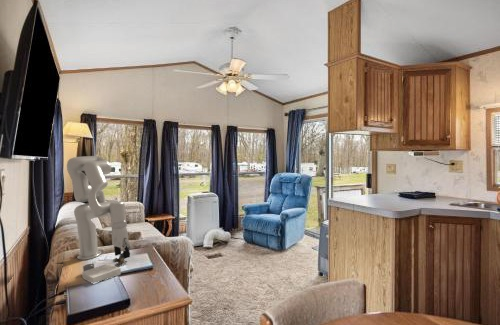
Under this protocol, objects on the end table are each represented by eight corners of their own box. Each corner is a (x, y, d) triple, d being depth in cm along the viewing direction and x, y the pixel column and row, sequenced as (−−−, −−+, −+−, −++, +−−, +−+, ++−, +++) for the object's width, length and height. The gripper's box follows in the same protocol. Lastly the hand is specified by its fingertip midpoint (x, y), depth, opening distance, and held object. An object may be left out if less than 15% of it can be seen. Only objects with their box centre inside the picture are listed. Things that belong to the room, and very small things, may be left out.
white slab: (82, 277, 146) (82, 272, 146) (109, 268, 156) (108, 263, 156) (93, 284, 138) (93, 278, 138) (120, 274, 148) (120, 268, 148)
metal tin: (82, 273, 152) (81, 266, 152) (92, 270, 156) (91, 263, 155) (86, 276, 148) (85, 268, 148) (96, 272, 152) (95, 264, 152)
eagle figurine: (129, 264, 158) (133, 255, 166) (120, 255, 156) (125, 246, 164) (118, 272, 158) (123, 263, 167) (108, 263, 156) (114, 254, 165)
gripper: (104, 225, 162) (108, 256, 162) (119, 228, 151) (123, 261, 151) (118, 221, 168) (121, 251, 168) (133, 224, 156) (137, 256, 157)
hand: (122, 256), depth 160 cm, fingers open, 9 cm apart
